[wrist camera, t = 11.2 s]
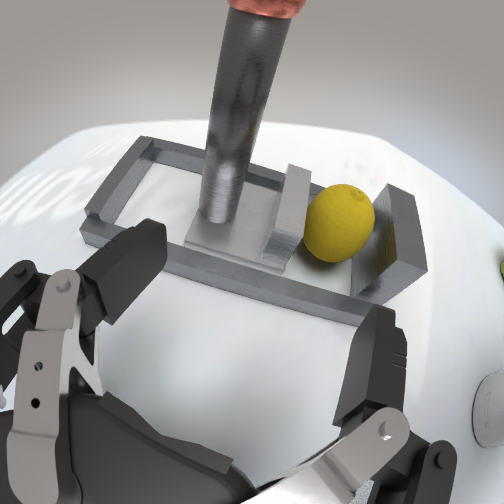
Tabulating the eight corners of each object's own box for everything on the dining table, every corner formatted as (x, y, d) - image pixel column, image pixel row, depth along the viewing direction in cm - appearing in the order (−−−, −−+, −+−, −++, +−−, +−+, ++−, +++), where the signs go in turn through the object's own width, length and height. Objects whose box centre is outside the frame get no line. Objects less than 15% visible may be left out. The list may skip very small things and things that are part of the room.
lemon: (286, 223, 27) (318, 159, 20) (339, 229, 28) (379, 173, 21) (292, 276, 24) (333, 217, 17) (350, 279, 25) (400, 228, 18)
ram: (293, 206, 28) (388, 0, 10) (279, 277, 23) (428, 14, 6) (209, 180, 27) (253, -42, 10) (178, 246, 23) (206, -53, 6)
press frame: (375, 222, 30) (409, 179, 24) (377, 331, 23) (430, 299, 17) (147, 150, 28) (146, 95, 22) (85, 243, 21) (61, 185, 15)
